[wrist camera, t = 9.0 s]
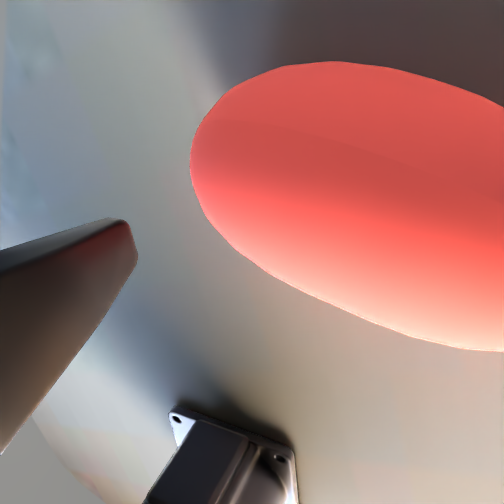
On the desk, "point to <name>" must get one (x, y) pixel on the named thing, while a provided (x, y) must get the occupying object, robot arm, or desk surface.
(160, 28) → the desk surface
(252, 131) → the stress ball
